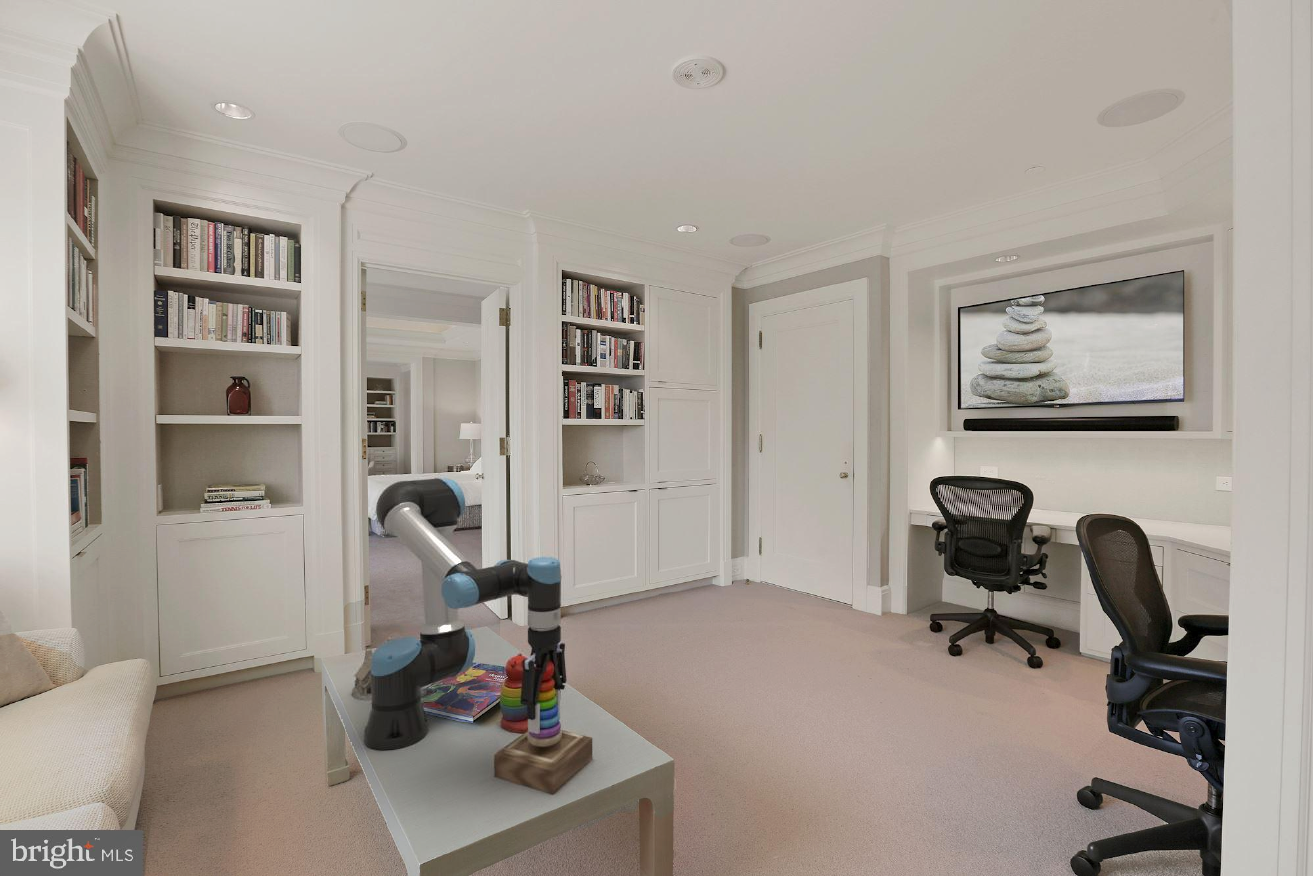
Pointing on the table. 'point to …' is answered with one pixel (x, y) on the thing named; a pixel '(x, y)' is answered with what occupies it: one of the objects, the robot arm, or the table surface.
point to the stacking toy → (547, 712)
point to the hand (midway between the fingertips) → (544, 724)
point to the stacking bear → (513, 697)
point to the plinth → (543, 761)
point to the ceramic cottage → (364, 678)
